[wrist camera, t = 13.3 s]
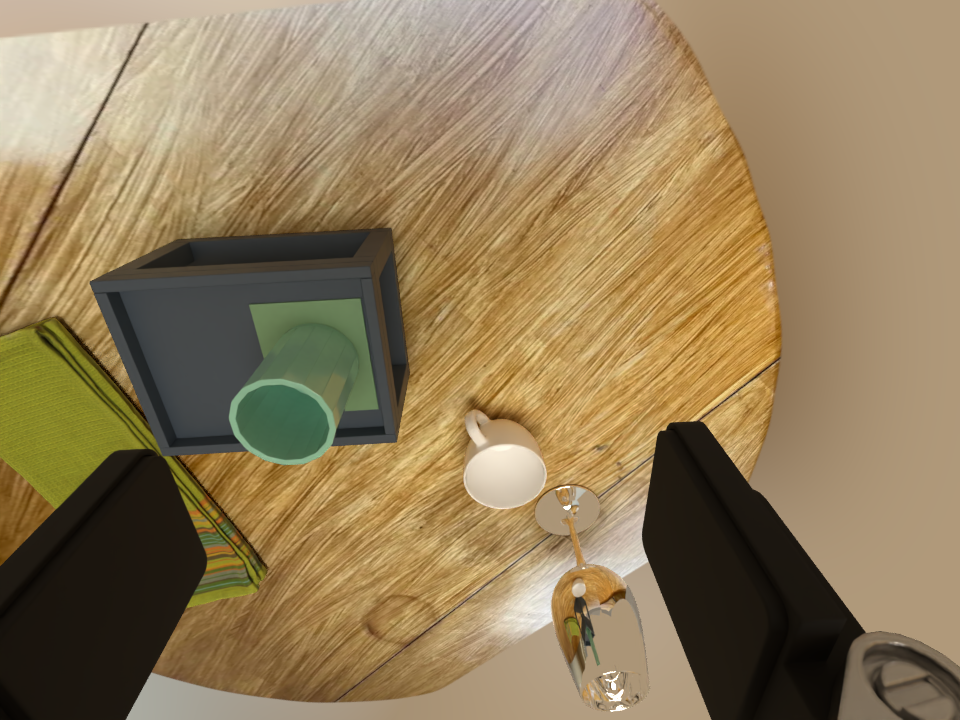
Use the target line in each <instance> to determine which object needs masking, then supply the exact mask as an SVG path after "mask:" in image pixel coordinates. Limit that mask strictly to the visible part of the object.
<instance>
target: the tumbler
mask: <svg viewBox="0 0 960 720" xmlns="http://www.w3.org/2000/svg"><path fill="white" fill-rule="evenodd" d="M358 372H359V357H358V354H357V351H356V349H355V347H354V346H353V344H352V343H351V341H350V340H349V339H348V338H347V337H346V336H345V335H343V334H342V333H341V332H339V331H338V330H336V329H334V328H332V327H329V326H327V325H322V324H316V323H308V324H301V325H298V326H295V327H293V328H291V329H289V330H288V331H287V332H285V333H284V334H283V335H282V336H281V338H280V339H279V340H278V341H277V343H276V344H275V345H274V347H273V348H272V349H271V350H270V352H269V353H268V354H267V356H266V357H265V358H264V360H263V361H262V362H261V363H260V365H259V366H258V367H257V369H256V370H255V371H254V373H253V374H252V375H251V376H250V378H249V379H248V380H247V382H246V383H245V384H244V386H243V387H242V388H241V389H240V391H239V392H238V393H237V395H236V396H235V397H234V399H233V400H232V402H231V406H230V413H229V421H230V424H231V427H232V430H233V433H234V435H235V437H236V438H237V439H238V440H239V441H240V443H241V444H242V445H243V446H244V447H245V448H246V449H247V450H248V451H249V452H251V453H253V454H255V455H256V456H258V457H260V458H261V459H263V460H265V461H269V462H273V463H277V464H281V465H296V464H305V463H307V462H310V461H312V460H315V459H317V458H319V457H321V456H322V455H323V454H324V453H325V452H326V451H327V450H328V449H329V448H330V446H331V445H332V444H333V441H334V438H335V436H336V433H337V430H338V428H339V425H340V422H341V420H342V417H343V414H344V412H345V409H346V406H347V404H348V401H349V398H350V396H351V393H352V390H353V387H354V385H355V382H356V378H357V375H358Z"/></svg>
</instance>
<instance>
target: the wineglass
mask: <svg viewBox="0 0 960 720" xmlns="http://www.w3.org/2000/svg"><path fill="white" fill-rule="evenodd" d="M599 513H600V502H599V500H598V498H597V496H596V495H595V494H594V493H593V492H592V491H591V490H589V489H587V488H585V487H581V486H576V485H565V486H560V487H557V488H554V489H552V490H550V491H548V492H547V493H545V494H544V495H543V496H542V497H541V498H540V499H539V501H538V502H537V504H536V507H535V519H536V521H537V523H538V524H539V526H540V527H541V528H543V529H544V530H545V531H547V532H549V533H552V534H555V535H571V539H572V543H573V547H574V551H575V555H576V561H577V566H576V567H574V568H572V569H571V570H569V571H568V572H566V573H565V574H564V575H563V576H562V577H561V578H560V580H559V581H558V583H557V585H556V586H555V588H554V591H553V595H552V600H551V614H552V620H553V624H554V628H555V632H556V636H557V639H558V642H559V645H560V648H561V650H562V653H563V656H564V658H565V661H566V664H567V666H568V668H569V671H570V673H571V676H572V678H573V680H574V683H575V685H576V687H577V690H578V692H579V695H580V697H581V699H582V701H583V702H584V703H585V704H586V705H587V706H588V707H590V708H592V709H595V710H599V711H619V710H624V709H627V708H630V707H633V706H634V705H636V704H638V703H640V702H641V701H642V700H643V699H644V698H645V697H646V696H647V694H648V692H649V689H650V687H649V677H648V668H647V658H646V650H645V643H644V637H643V629H642V625H641V619H640V615H639V611H638V607H637V604H636V601H635V599H634V597H633V594H632V592H631V590H630V588H629V587H628V585H627V584H626V583H625V582H624V580H623V579H622V578H621V577H620V576H619V575H618V574H616V573H615V572H613V571H612V570H610V569H608V568H606V567H604V566H600V565H595V564H586V562H585V560H584V557H583V554H582V551H581V548H580V544H579V540H578V536H577V533H579V532H582V531H584V530H586V529H587V528H589V527H590V526H591V525H592V524H593V523H594V522H595V521H596V519H597V518H598V516H599Z"/></svg>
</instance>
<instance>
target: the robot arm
mask: <svg viewBox="0 0 960 720" xmlns="http://www.w3.org/2000/svg"><path fill="white" fill-rule="evenodd" d="M642 541H643V546H644V550H645V553H646V555H647V558H648V561H649V563H650V566H651V568H652V571H653V573H654V576H655V578H656V581H657V583H658V586H659V588H660V591H661V593H662V596H663V598H664V601H665V604H666V606H667V609H668V611H669V614H670V616H671V619H672V621H673V624H674V626H675V628H676V631H677V634H678V636H679V639H680V641H681V644H682V646H683V649H684V652H685V654H686V657H687V659H688V662H689V664H690V667H691V669H692V672H693V674H694V677H695V679H696V681H697V684H698V687H699V689H700V692H701V694H702V697H703V699H704V702H705V705H706V707H707V710H708V712H709V715H710V717H711V719H712V720H960V667H959V666H958V665H956V664H955V663H954V662H953V661H951V660H950V659H949V658H947V657H946V656H945V655H943V654H942V653H940V652H938V651H936V650H935V649H933V648H931V647H929V646H927V645H926V644H924V643H922V642H920V641H917V640H915V639H912V638H909V637H906V636H903V635H901V634H896V633H889V632H882V631H878V632H871V633H866V632H865V631H864V630H863V628H862V627H861V625H860V624H859V623H858V621H857V620H856V619H855V618H854V616H853V615H852V613H851V612H850V611H849V609H848V608H847V607H846V605H845V604H844V603H843V601H842V600H841V599H840V597H839V596H838V595H837V593H836V592H835V591H834V589H833V588H832V587H831V585H830V584H829V583H828V581H827V580H826V579H825V577H824V576H823V575H822V573H821V572H820V571H819V569H818V568H817V567H816V565H815V564H814V563H813V561H812V560H811V559H810V557H809V556H808V555H807V553H806V552H805V550H804V549H803V548H802V546H801V545H800V544H799V543H798V541H797V540H796V538H795V537H794V536H793V534H792V533H791V532H790V530H789V529H788V528H787V526H786V525H785V524H784V522H783V521H782V520H781V518H780V517H779V516H778V514H777V513H776V512H775V510H774V509H773V508H772V506H771V505H770V504H769V502H768V501H767V500H766V498H764V496H763V495H762V494H761V493H759V492H758V491H756V490H753V489H752V488H751V487H750V485H749V484H748V482H747V481H746V480H745V478H744V477H743V475H742V474H741V473H740V471H739V470H738V469H737V467H736V466H735V464H734V463H733V462H732V460H731V459H730V458H729V456H728V455H727V454H726V452H725V451H724V449H723V448H722V447H721V445H720V444H719V443H718V441H717V440H716V438H715V437H714V436H713V434H712V433H711V432H710V430H709V429H708V428H707V426H706V425H705V424H704V423H703V422H701V421H693V422H673V423H670V424H669V425H668V426H667V429H666V431H660V432H659V433H658V436H657V441H656V448H655V454H654V460H653V467H652V473H651V479H650V485H649V492H648V498H647V504H646V511H645V517H644V523H643V529H642ZM206 567H207V554H206V551H205V549H204V547H203V544H202V542H201V540H200V537H199V535H198V533H197V530H196V528H195V526H194V523H193V521H192V519H191V516H190V514H189V512H188V510H187V507H186V505H185V503H184V500H183V498H182V496H181V493H180V491H179V489H178V486H177V484H176V482H175V479H174V477H173V475H172V472H171V470H170V468H169V465H168V463H167V461H166V459H165V458H164V457H162V456H158V454H157V453H156V452H155V451H154V450H153V449H129V450H118V451H114V452H113V453H112V454H110V455H109V456H108V457H107V458H106V459H105V460H104V461H103V462H102V463H101V464H100V465H99V466H98V467H97V468H96V469H95V470H94V471H93V472H92V473H91V474H90V475H89V476H88V477H87V478H86V479H85V481H84V482H83V483H82V484H81V485H80V486H79V487H78V488H77V489H76V490H75V491H74V492H73V493H72V494H71V495H70V496H69V497H68V498H67V499H66V500H65V501H64V502H63V503H62V504H61V505H60V506H59V507H58V508H57V509H56V510H55V511H54V512H53V513H52V514H51V515H50V516H49V517H48V518H47V519H46V520H45V521H44V522H43V523H42V524H41V525H40V526H39V527H38V528H37V529H36V530H35V531H34V532H33V533H32V534H31V536H30V537H29V538H28V539H27V540H26V541H25V542H24V543H23V544H22V545H21V546H20V547H19V548H18V549H17V550H16V551H15V552H14V553H13V554H12V555H11V556H10V557H9V558H8V559H7V560H6V561H5V562H4V563H3V564H2V565H1V566H0V720H126V718H127V716H128V714H129V712H130V711H131V709H132V707H133V705H134V703H135V701H136V700H137V698H138V696H139V694H140V692H141V690H142V688H143V686H144V685H145V683H146V681H147V679H148V677H149V675H150V674H151V672H152V670H153V668H154V666H155V664H156V663H157V661H158V659H159V657H160V655H161V653H162V651H163V650H164V648H165V646H166V644H167V642H168V640H169V639H170V637H171V635H172V633H173V631H174V629H175V627H176V626H177V624H178V622H179V620H180V618H181V616H182V614H183V613H184V611H185V609H186V607H187V605H188V603H189V602H190V600H191V598H192V596H193V594H194V592H195V590H196V589H197V587H198V585H199V583H200V581H201V579H202V577H203V576H204V573H205V571H206Z"/></svg>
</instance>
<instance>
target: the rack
mask: <svg viewBox="0 0 960 720" xmlns="http://www.w3.org/2000/svg"><path fill="white" fill-rule="evenodd" d="M90 285H91V288H92V290H93V292H94V295H95V298H96V300H97V303H98V305H99V307H100V310H101V312H102V314H103V317H104V319H105V321H106V324H107V326H108V328H109V331H110V333H111V336H112V338H113V340H114V343H115V345H116V347H117V350H118V352H119V354H120V357H121V359H122V362H123V364H124V366H125V369H126V371H127V373H128V376H129V378H130V380H131V383H132V385H133V388H134V390H135V392H136V395H137V397H138V399H139V402H140V404H141V406H142V409H143V411H144V413H145V416H146V418H147V421H148V423H149V425H150V428H151V430H152V432H153V435H154V437H155V439H156V442H157V444H158V447H159V448H160V451H161V453H162V456H177V455H193V454H210V453H227V452H244V451H248V450H247V449H246V448H245V447H244V446H243V445H242V444H241V443H240V441H239V440H238V439H237V438H236V437H235V435H234V433H233V430H232V427H231V424H230V421H229V413H230V406H231V402H232V400H233V399H234V397H235V396H236V395H237V393H238V392H239V391H240V389H241V388H242V387H243V386H244V384H245V383H246V382H247V380H248V379H249V378H250V376H251V375H252V374H253V373H254V371H255V370H256V369H257V367H258V366H259V365H260V363H261V362H262V361H263V360H264V358H265V357H266V356H267V354H268V353H269V352H270V350H271V349H272V348H273V347H274V345H275V344H276V343H277V341H278V340H279V339H280V338H281V336H282V335H283V334H284V333H285V332H287V331H288V330H289V329H291V328H293V327H295V326H298V325H301V324H308V323H316V324H322V325H327V326H329V327H332V328H334V329H336V330H338V331H339V332H341V333H342V334H343V335H345V336H346V337H347V338H348V339H349V340H350V341H351V343H352V344H353V346H354V347H355V349H356V351H357V354H358V357H359V372H358V375H357V378H356V382H355V385H354V387H353V390H352V393H351V396H350V398H349V401H348V404H347V406H346V409H345V412H344V414H343V417H342V420H341V422H340V425H339V428H338V430H337V433H336V436H335V438H334V441H333V444H332V445H331V446H345V445H362V444H378V443H395V442H397V438H398V433H399V428H400V422H401V417H402V411H403V406H404V401H405V395H406V390H407V384H408V379H409V374H410V371H409V363H408V356H407V348H406V340H405V332H404V324H403V316H402V308H401V300H400V292H399V284H398V276H397V268H396V261H395V253H394V245H393V237H392V229H391V228H379V229H361V230H343V231H324V232H306V233H288V234H269V235H251V236H233V237H214V238H196V239H177V240H175V241H173V242H171V243H169V244H167V245H165V246H163V247H161V248H159V249H156V250H154V251H152V252H150V253H148V254H146V255H144V256H142V257H140V258H138V259H136V260H134V261H131V262H129V263H127V264H125V265H123V266H121V267H119V268H117V269H115V270H113V271H110V272H108V273H106V274H104V275H102V276H100V277H98V278H96V279H94V280H92V281H90Z"/></svg>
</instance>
